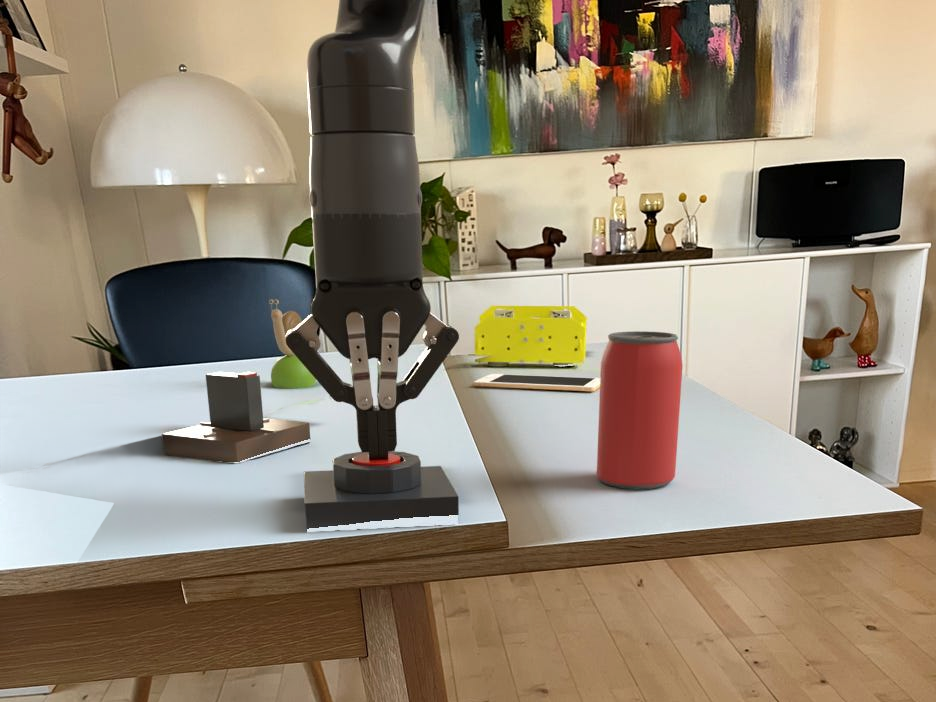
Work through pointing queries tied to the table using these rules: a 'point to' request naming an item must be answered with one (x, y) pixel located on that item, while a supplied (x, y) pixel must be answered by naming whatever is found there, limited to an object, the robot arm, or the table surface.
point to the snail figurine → (288, 354)
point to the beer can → (639, 409)
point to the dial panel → (233, 440)
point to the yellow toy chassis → (531, 335)
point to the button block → (376, 492)
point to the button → (365, 461)
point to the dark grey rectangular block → (235, 400)
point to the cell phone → (539, 382)
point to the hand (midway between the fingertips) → (377, 457)
